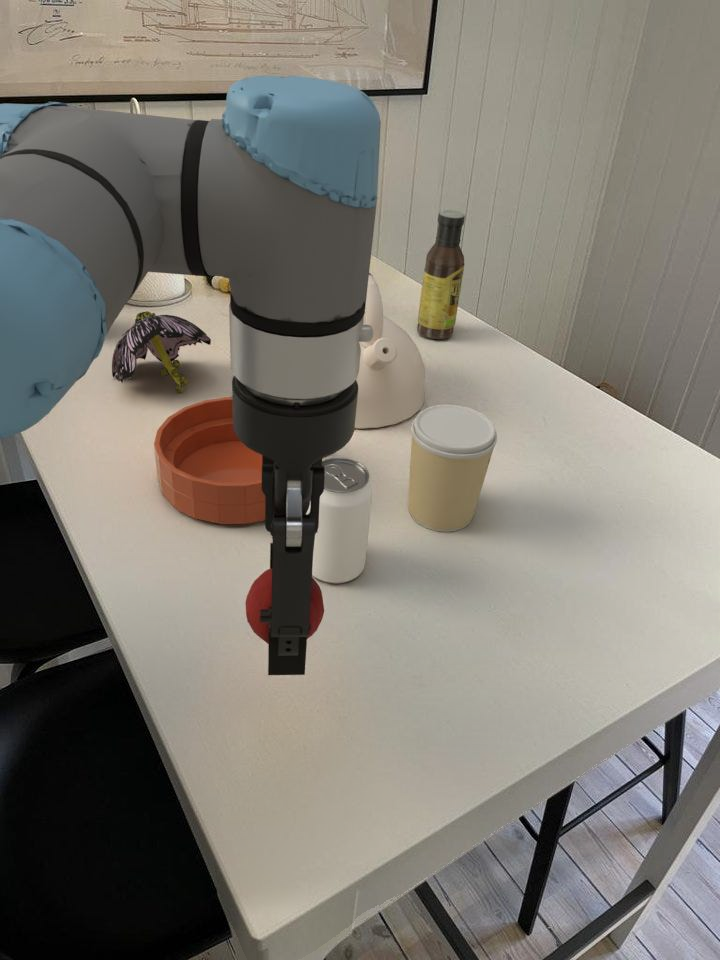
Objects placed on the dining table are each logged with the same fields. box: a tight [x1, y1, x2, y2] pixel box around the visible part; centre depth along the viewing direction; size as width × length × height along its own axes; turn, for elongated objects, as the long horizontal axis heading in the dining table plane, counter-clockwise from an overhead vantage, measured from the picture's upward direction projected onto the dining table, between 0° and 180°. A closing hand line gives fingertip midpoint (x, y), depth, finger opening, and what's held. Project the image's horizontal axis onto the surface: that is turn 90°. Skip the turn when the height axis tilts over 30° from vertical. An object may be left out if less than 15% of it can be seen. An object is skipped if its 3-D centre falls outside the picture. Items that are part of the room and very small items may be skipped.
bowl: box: [153, 396, 265, 525], centre depth 89 cm, size 18×18×6 cm
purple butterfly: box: [111, 311, 212, 394], centre depth 105 cm, size 14×12×15 cm
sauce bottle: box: [416, 209, 466, 340], centre depth 121 cm, size 6×6×20 cm
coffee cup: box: [407, 404, 498, 533], centre depth 85 cm, size 9×9×12 cm
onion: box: [245, 568, 325, 645], centre depth 56 cm, size 6×6×8 cm
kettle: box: [355, 272, 426, 430], centre depth 104 cm, size 20×21×18 cm
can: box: [306, 457, 373, 585], centre depth 77 cm, size 6×6×12 cm
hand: (286, 636), depth 58 cm, fingers closed on onion, 6 cm apart
